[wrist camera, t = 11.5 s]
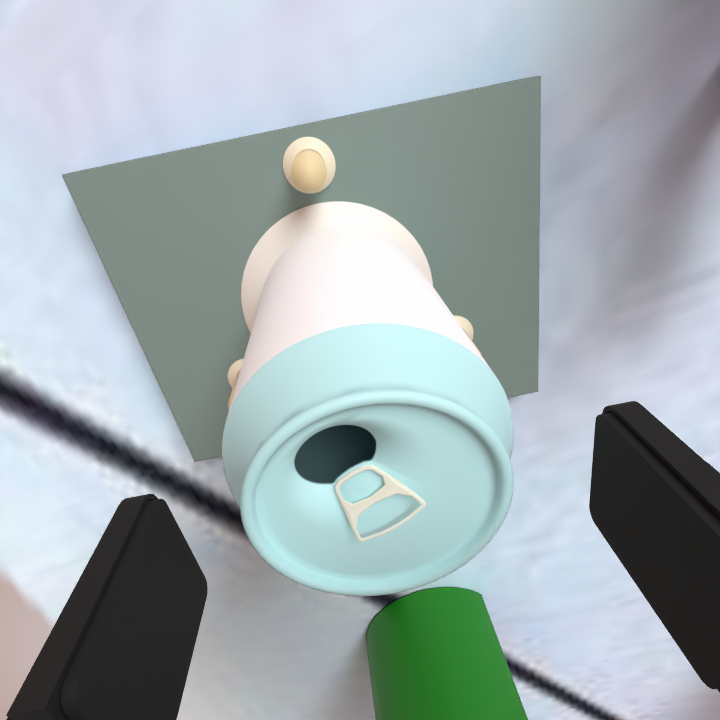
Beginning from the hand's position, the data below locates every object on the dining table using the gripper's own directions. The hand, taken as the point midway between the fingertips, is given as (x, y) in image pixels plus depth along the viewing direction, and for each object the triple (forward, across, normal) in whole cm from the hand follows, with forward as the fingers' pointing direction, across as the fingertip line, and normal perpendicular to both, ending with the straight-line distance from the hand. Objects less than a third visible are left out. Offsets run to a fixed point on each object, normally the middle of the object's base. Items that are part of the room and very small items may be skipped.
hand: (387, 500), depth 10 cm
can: (+12, 0, 0) cm, 12 cm away
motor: (+14, 0, +28) cm, 31 cm away
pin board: (+13, +1, 0) cm, 13 cm away
